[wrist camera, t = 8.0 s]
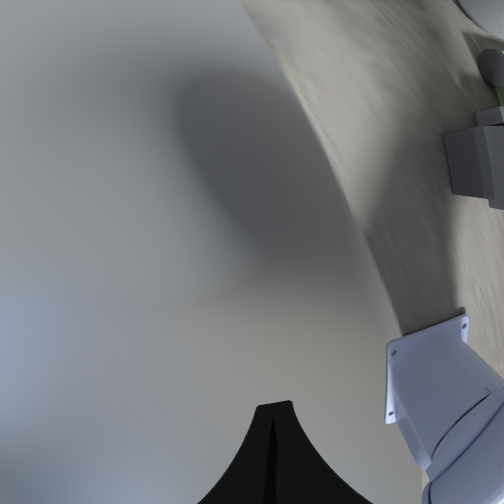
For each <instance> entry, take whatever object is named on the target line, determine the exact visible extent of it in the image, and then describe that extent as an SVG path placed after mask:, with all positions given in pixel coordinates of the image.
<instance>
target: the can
mask: <svg viewBox="0 0 504 504" xmlns="http://www.w3.org/2000/svg"><path fill="white" fill-rule="evenodd" d="M458 2H459V4H460V5H461V7H462V8H463V10H464V11H465V12H466V14H467V15H468V16H469V17H470V18H471V19H472V20H473V22H474V23H476V24H477V25H478V26H479V27H480V28H481V29H483V30H485V31H486V32H488V33H490V34H492V35H494V36H495V37H497V38H501V39H504V0H458Z"/></svg>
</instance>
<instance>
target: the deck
mask: <svg viewBox="0 0 504 504" xmlns="http://www.w3.org/2000/svg"><path fill="white" fill-rule="evenodd" d="M479 68H480V71H481V74H482V76H483V78H484V79H485V80H486V81H487V82H488V83H489V84H490V85H493V86H495V89H496V93H497V96H498V99H499V103H500V106H499V107H494V108H490V109H486V110H482V111H478V112H474V114H475V118H476V122H477V126H478V127H480V126H504V51H496V50H492V49H485V50H483V51H482V53H481V54H480V57H479ZM489 201H490V208H496V209H501V210H504V198H501V199H497V200H492V199H489Z"/></svg>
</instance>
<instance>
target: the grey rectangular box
mask: <svg viewBox="0 0 504 504" xmlns="http://www.w3.org/2000/svg"><path fill="white" fill-rule="evenodd" d="M443 139H444V143H445V148H446V153H447V158H448V164H449V170H450V176H451V183H452V190H453V194H454V195H462V196H470V197H477V198H485V199H492V200H497V199H501V198H504V126H480V127H474V128H469V129H464V130H459V131H454V132H449V133H444V134H443Z"/></svg>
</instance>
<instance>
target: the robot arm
mask: <svg viewBox="0 0 504 504" xmlns="http://www.w3.org/2000/svg"><path fill="white" fill-rule="evenodd" d="M468 324H469V316H468V315H466V314H462V315H460V316H458V317H455V318H453V319H450V320H448V321H445V322H443V323H440V324H437V325H435V326H432V327H429V328H427V329H424V330H421V331H418V332H415V333H413V334H410V335H407V336H404V337H401V338H398V339H395V340H392V341H390V342H389V343H388V344H387V347H386V349H387V350H386V353H387V355H386V363H387V365H386V401H385V417H384V421H385V423H386V424H390V423H393V422H397V425H398V426H399V429H400V431H401V433H402V435H403V437H404V439H405V441H406V443H407V445H408V447H409V449H410V451H411V454H412V456H413V458H414V460H415V462H416V463H417V465H418V466H419V467H420V468H421V469H423V470H425V471H426V473H427V475H428V477H429V479H430V482H429V483H428V484H427V485H426V486H425V488H424V490H423V494H422V504H504V379H503V378H502V377H501V376H500V375H499V374H498V373H497V372H496V371H495V370H494V369H493V368H492V367H491V366H489V365H488V364H487V363H486V362H485V361H484V360H483V359H482V358H481V357H480V356H479V355H478V354H477V353H476V352H475V351H473V350H472V349H471V348H470V347H469V346H468V345H467V344H466V340H467V333H468ZM394 350H395V351H394ZM392 351H394V352H393V353H391V352H392ZM198 504H373V503H371V502H369V501H368V500H367V499H365V498H364V497H363V496H361V495H360V494H359V493H357V492H356V491H355V490H353V489H352V488H351V487H350V486H349V485H348V484H347V483H346V482H344V481H343V480H342V479H341V478H340V477H339V476H338V475H337V474H336V473H335V472H334V471H333V470H332V469H331V468H330V466H329V465H328V464H327V463H326V462H325V461H324V460H323V458H322V457H321V456H320V454H319V453H318V452H317V451H316V449H315V448H314V447H313V445H312V444H311V442H310V441H309V439H308V437H307V436H306V434H305V432H304V431H303V429H302V427H301V425H300V423H299V421H298V419H297V417H296V414H295V412H294V408H293V404H292V401H290V400H287V401H282V402H276V403H271V404H264V405H259V406H257V407H256V411H255V414H254V417H253V420H252V423H251V425H250V428H249V430H248V432H247V434H246V436H245V438H244V441H243V443H242V445H241V447H240V449H239V450H238V452H237V454H236V456H235V457H234V459H233V461H232V462H231V464H230V466H229V467H228V469H227V470H226V472H225V473H224V474H223V476H222V477H221V478H220V480H219V481H218V482H217V483H216V485H215V486H214V487H213V488H212V489H211V491H210V492H209V493H208V494H207V495H206V496H205V497H204V498H203V499H202V500H201V501H200V502H199V503H198Z"/></svg>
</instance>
